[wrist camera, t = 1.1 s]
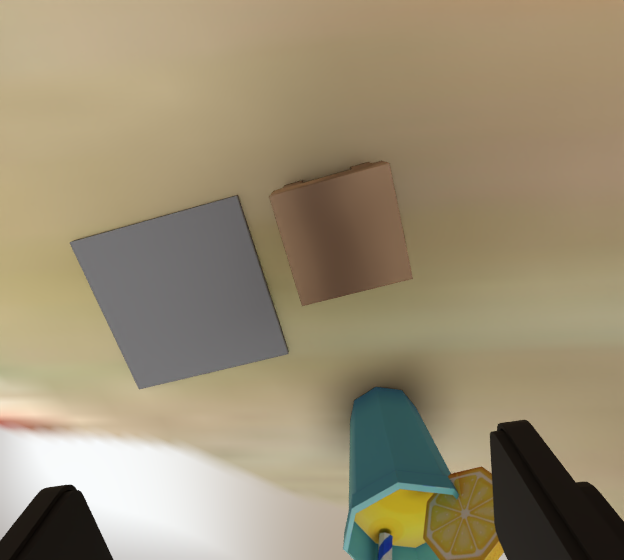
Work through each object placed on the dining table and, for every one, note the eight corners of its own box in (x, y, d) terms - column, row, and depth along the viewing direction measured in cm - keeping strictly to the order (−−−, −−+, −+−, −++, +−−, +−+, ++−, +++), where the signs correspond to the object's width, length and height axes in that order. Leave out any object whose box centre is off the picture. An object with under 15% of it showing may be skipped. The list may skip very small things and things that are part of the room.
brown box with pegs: (370, 157, 26) (389, 162, 19) (390, 246, 28) (412, 278, 21) (281, 183, 26) (269, 196, 20) (305, 267, 28) (302, 306, 22)
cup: (370, 500, 35) (406, 744, 21) (292, 463, 34) (273, 695, 20) (468, 378, 31) (597, 578, 17) (383, 332, 30) (443, 504, 16)
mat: (237, 195, 27) (236, 195, 26) (288, 351, 30) (288, 354, 30) (73, 241, 28) (69, 242, 27) (141, 386, 32) (138, 389, 31)
